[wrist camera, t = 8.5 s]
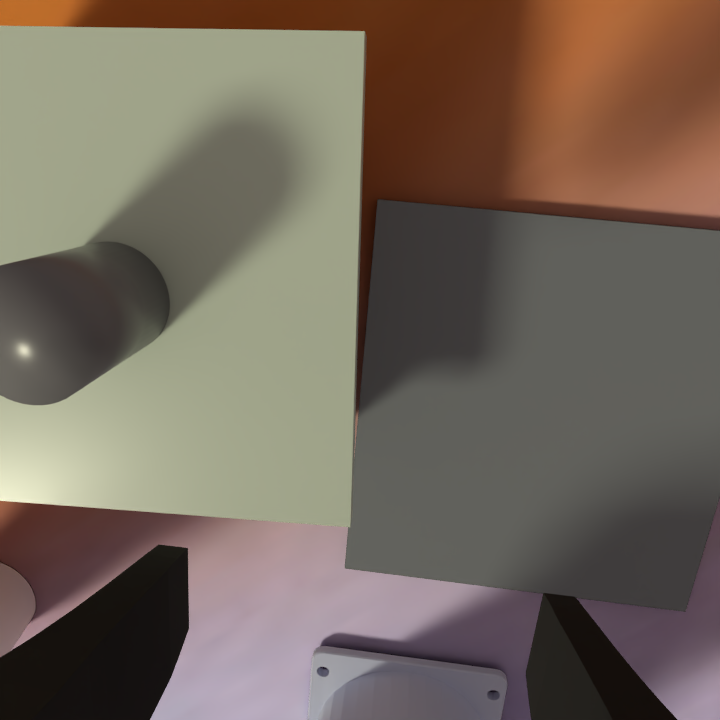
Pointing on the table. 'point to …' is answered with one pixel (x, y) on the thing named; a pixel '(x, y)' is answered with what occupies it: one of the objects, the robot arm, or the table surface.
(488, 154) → the table surface
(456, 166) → the table surface
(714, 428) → the mat
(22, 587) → the smoothie
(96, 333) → the lid
